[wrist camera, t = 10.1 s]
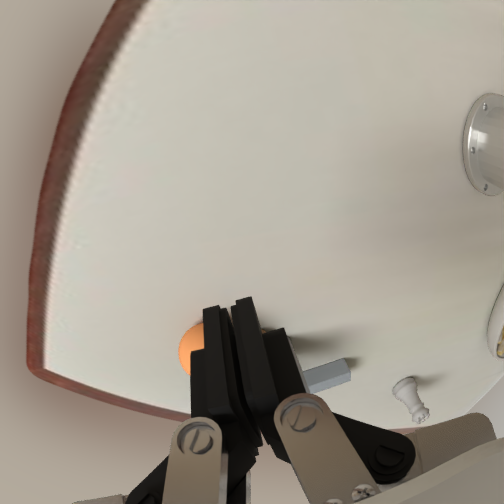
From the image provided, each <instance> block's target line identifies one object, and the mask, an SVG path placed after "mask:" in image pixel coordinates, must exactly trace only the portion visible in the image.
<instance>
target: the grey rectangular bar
mask: <svg viewBox="0 0 504 504" xmlns="http://www.w3.org/2000/svg"><path fill="white" fill-rule="evenodd" d="M303 374H304V377H305V380H306V382H307V385H308V388H309V390H310V393H311V394H314V393H317V392H320V391H323V390H326V389H328V388H331V387H334V386H337V385H340V384H343V383H345V382H348V381H351V371H350V369H349V368H348V366H347V364H346V362H345V360H344V358H343V359H340V360H337V361H334V362H331V363H328V364H325V365H322V366H319V367H316V368H313V369H310V370H307V371H304V372H303Z"/></svg>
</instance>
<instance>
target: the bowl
mask: <svg viewBox="0 0 504 504" xmlns="http://www.w3.org/2000/svg"><path fill="white" fill-rule="evenodd" d="M487 342H488V347H489V350H490V352H491V354H492V355H493V357H494V358H495V359H496V360H498V361H503V360H504V285H503V287H502V289H501V291H500V293H499V296H498V298H497V300H496V303H495V305H494V308H493V311H492V314H491V317H490V321H489V325H488V331H487Z"/></svg>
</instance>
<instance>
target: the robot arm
mask: <svg viewBox="0 0 504 504" xmlns="http://www.w3.org/2000/svg"><path fill="white" fill-rule="evenodd" d="M463 156H464V164H465V168H466V172H467V175H468V177H469V180H470V181H471V183H472V185H473V186H474V187H475V188H476V189H477V190H478V191H480V192H482V193H483V194H486V195H488V196H495V195H498V194H500V193H502V192H503V191H504V96H502V95H498V94H486V95H483V96H482V97H480V98H479V99H478V100H477V101H476V102H475V104H474V105H473V107H472V109H471V111H470V113H469V115H468V118H467V121H466V125H465V130H464V137H463ZM231 313H232V320H233V325H232V322H231V319H230V317H229V314H228V311H227V309H226V308H222V309H221V308H220V306H219V305H217V306H213V307H209V308H205V309H203V333H204V348H203V349H199V350H195V351H191V354H190V386H191V419H188V420H186V421H184V422H183V423H182V424H180V425H179V426H178V427H177V429H176V430H175V432H174V434H173V437H172V440H171V447H170V453H169V455H168V456H167V457H166V458H165V459H164V461H162V462H161V463H160V464H159V466H157V467H156V468H155V469H154V470H153V471H152V472H151V473H150V474H149V475H148V476H147V477H146V478H145V479H144V480H143V481H142V482H141V483H140V484H139V485H138V486H137V487H136V488H135V489H134V490H132V492H131V493H130V494H129V495H125V496H124V495H122V494H119V495H114V496H109V497H104V498H97V499H91V500H85V501H77V502H75V503H72V504H251V502H250V501H251V489H250V488H251V485H250V484H251V474H250V469H251V467H252V466H253V465H254V464H255V462H256V458H255V456H257V455H259V452H258V447H261V446H263V442H262V437H261V432H262V434H263V436H264V438H265V440H266V442H267V444H268V445H269V444H270V445H271V447H272V449H273V451H274V453H275V455H276V457H277V458H279V459H281V460H283V461H285V462H287V463H290V464H291V465H292V467H293V470H294V472H295V474H296V476H297V478H298V480H299V482H300V484H301V486H302V489H303V491H304V493H305V495H306V497H307V499H308V501H309V503H310V504H504V438H499V439H496V436H495V433H494V429H493V426H492V423H491V422H490V420H489V418H488V417H486V416H485V415H484V414H481V413H470V414H467V415H464V416H461V417H458V418H455V419H452V420H449V421H445V422H442V423H439V424H435V425H432V426H428V427H424V428H420V429H417V430H415V432H413V433H409V434H405V435H402V434H400V433H396V432H393V431H389V430H386V429H382V428H379V427H376V426H372V425H369V424H366V423H363V422H360V421H357V420H354V419H351V418H348V417H345V416H342V415H339V414H336V413H333V412H331V410H330V408H329V407H328V405H327V404H326V402H325V401H324V400H323V399H322V398H320V397H318V396H317V395H314V394H310V393H306V390H305V387H304V384H303V381H302V378H301V375H300V373H299V370H298V367H297V364H296V361H295V358H294V355H293V352H292V349H291V346H290V344H289V341H288V338H287V335H286V332H285V329H284V328H280V329H277V330H273V331H270V332H266V333H262V331H261V327H260V324H259V321H258V317H257V314H256V310H255V307H254V304H253V300H252V297H251V296H250V297H247V298H243V299H239V300H236V305H234V306H231ZM233 326H234V327H233ZM260 430H261V432H260Z"/></svg>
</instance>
